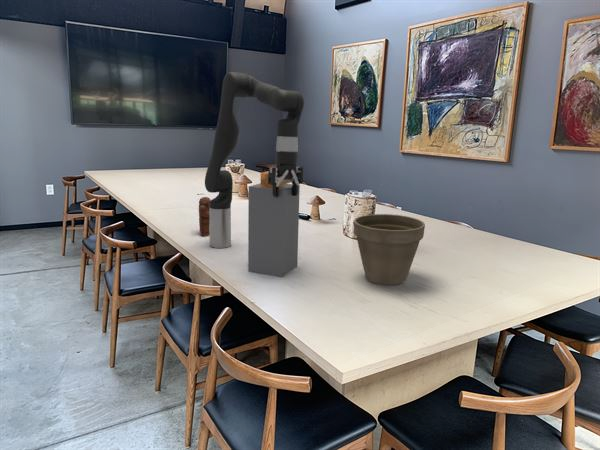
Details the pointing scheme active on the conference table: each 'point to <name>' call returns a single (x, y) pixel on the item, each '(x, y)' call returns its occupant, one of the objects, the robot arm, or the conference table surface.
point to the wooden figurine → (204, 216)
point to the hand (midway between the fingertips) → (285, 196)
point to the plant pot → (387, 246)
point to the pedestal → (272, 230)
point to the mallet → (265, 180)
